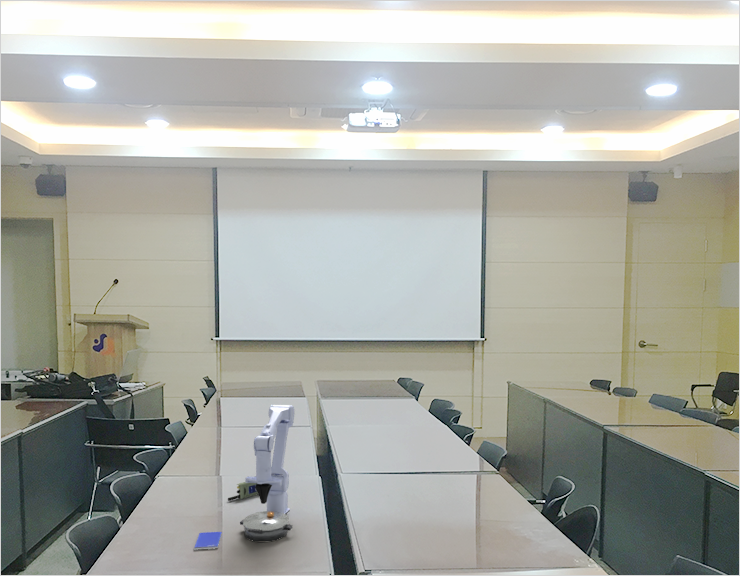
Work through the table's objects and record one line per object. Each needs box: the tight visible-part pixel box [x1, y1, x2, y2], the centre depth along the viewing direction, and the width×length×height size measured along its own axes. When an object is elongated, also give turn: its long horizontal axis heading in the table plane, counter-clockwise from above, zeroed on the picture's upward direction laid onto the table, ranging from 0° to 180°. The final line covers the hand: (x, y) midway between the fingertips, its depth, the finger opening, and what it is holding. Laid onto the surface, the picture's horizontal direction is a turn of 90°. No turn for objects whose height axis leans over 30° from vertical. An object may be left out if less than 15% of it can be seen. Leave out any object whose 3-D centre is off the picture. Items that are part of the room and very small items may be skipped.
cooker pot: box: [239, 519, 293, 542], centre depth 230 cm, size 18×20×4 cm
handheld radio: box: [227, 475, 276, 502], centre depth 268 cm, size 7×3×25 cm
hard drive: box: [193, 531, 222, 551], centre depth 221 cm, size 2×8×12 cm
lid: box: [242, 510, 290, 533], centre depth 228 cm, size 18×17×2 cm
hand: (263, 502), depth 231 cm, fingers closed
